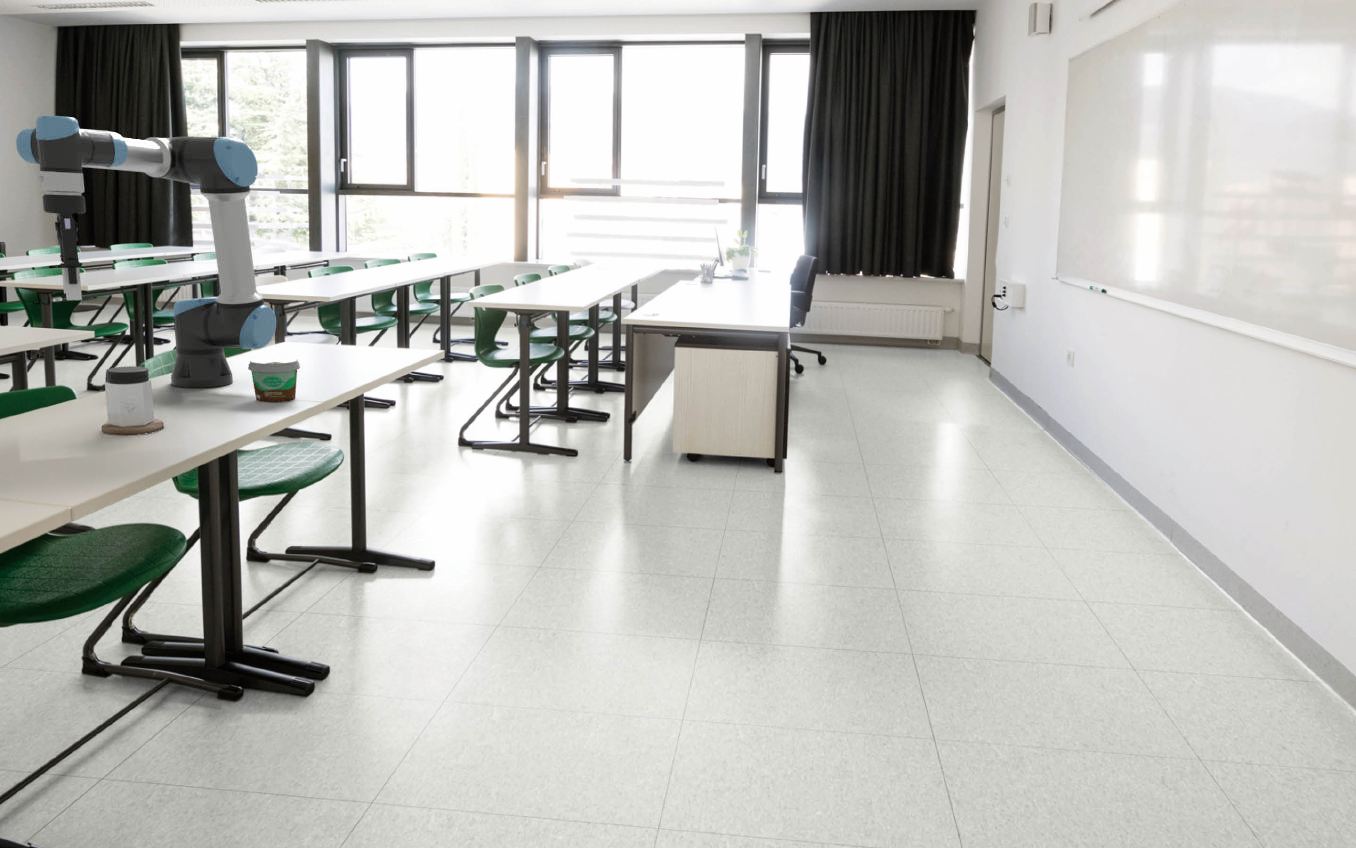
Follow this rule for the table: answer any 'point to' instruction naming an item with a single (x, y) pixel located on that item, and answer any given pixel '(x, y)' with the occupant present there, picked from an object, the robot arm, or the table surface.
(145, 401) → the jar
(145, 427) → the candle base
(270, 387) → the food container
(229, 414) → the table surface
